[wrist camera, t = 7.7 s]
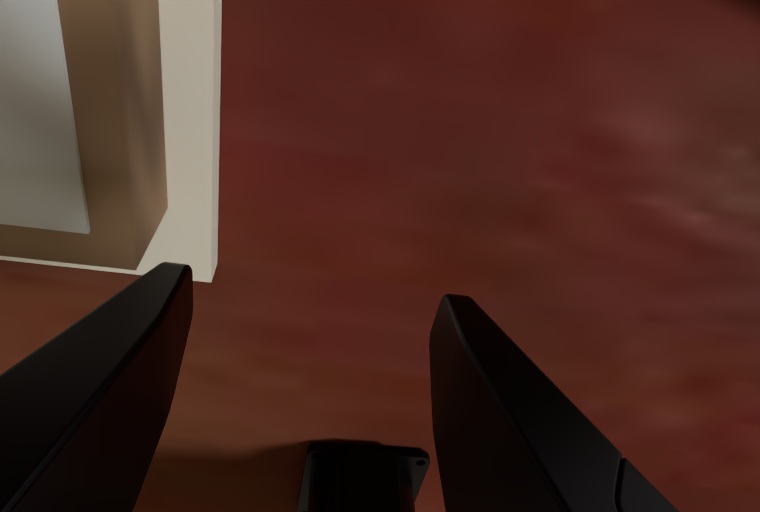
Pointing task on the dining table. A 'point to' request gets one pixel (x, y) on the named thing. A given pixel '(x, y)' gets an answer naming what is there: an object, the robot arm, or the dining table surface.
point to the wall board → (186, 140)
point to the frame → (81, 130)
